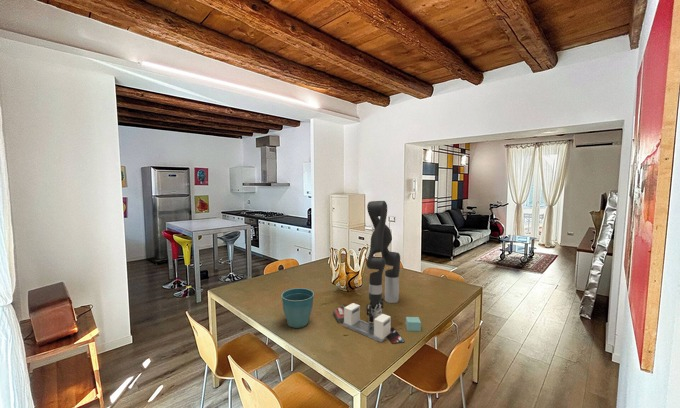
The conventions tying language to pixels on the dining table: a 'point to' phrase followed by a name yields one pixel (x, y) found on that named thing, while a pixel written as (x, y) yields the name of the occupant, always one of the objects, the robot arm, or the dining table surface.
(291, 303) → the flower pot
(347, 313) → the block
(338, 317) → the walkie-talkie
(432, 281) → the dining table surface
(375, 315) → the block
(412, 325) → the block
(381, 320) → the module
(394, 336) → the smartphone
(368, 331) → the grey rectangular tray
